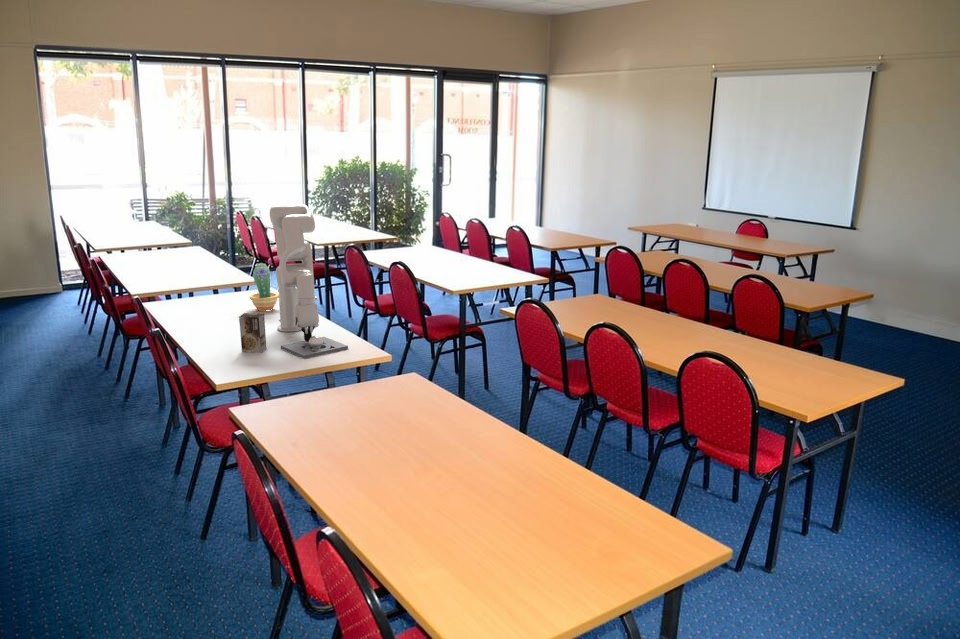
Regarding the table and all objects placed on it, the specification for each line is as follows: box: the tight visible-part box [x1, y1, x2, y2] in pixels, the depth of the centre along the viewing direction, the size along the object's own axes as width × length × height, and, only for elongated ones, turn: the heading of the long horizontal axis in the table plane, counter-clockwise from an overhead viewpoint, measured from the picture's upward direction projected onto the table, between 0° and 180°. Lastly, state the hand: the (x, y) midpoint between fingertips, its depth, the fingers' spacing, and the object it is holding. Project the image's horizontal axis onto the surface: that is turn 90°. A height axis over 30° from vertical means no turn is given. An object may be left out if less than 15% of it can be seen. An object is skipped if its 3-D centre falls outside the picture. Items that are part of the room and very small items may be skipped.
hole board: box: [280, 336, 349, 360], centre depth 324 cm, size 20×22×2 cm
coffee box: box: [238, 312, 267, 353], centre depth 319 cm, size 9×6×16 cm
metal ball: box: [309, 335, 323, 349], centre depth 322 cm, size 6×6×6 cm
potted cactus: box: [248, 263, 279, 311], centre depth 390 cm, size 15×15×25 cm
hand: (308, 341), depth 327 cm, fingers closed
